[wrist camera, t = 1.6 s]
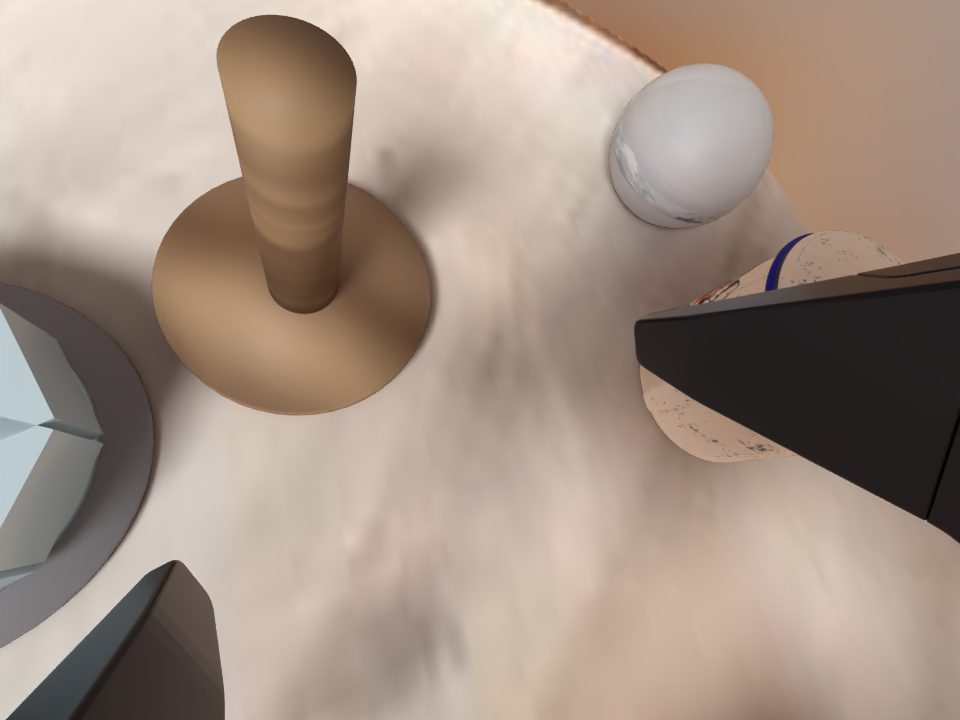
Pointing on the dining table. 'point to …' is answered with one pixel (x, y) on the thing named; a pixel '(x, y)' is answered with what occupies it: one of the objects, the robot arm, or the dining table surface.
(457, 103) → the dining table surface
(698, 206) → the bath bomb
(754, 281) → the teacup with lid
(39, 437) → the bowl
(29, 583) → the trivet
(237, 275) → the lid
